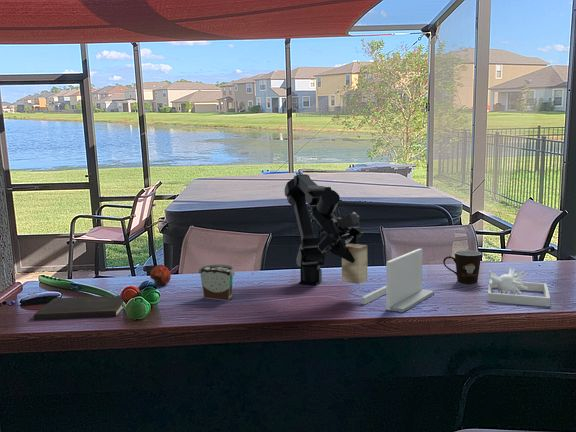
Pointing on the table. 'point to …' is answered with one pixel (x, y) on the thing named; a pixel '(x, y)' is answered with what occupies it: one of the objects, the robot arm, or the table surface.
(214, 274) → the food container
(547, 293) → the white flat square tray
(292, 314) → the table surface
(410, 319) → the table surface
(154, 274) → the pomegranate
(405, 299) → the board
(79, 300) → the hardcover book
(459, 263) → the coffee mug
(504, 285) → the spiky ball
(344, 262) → the beige upright block
